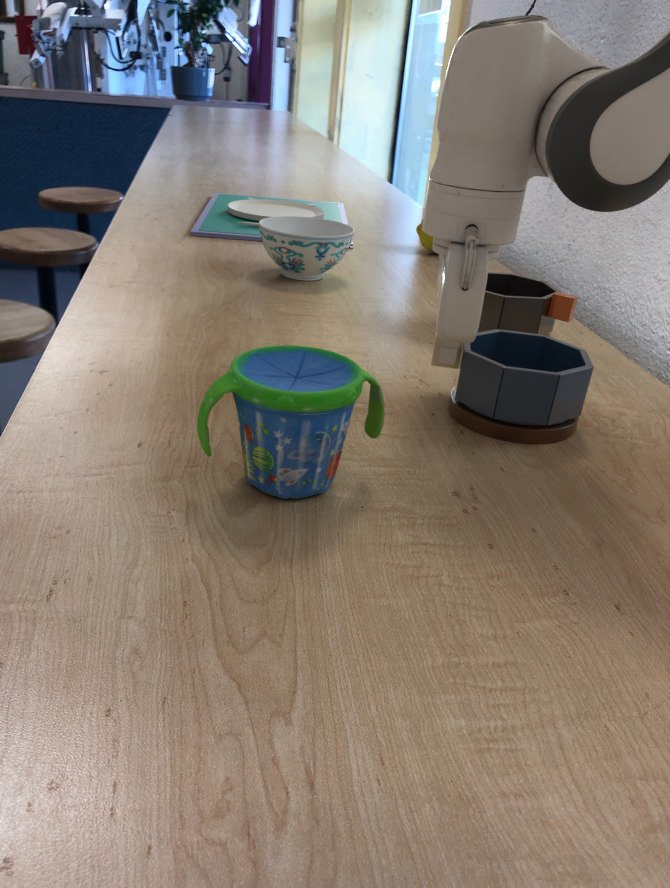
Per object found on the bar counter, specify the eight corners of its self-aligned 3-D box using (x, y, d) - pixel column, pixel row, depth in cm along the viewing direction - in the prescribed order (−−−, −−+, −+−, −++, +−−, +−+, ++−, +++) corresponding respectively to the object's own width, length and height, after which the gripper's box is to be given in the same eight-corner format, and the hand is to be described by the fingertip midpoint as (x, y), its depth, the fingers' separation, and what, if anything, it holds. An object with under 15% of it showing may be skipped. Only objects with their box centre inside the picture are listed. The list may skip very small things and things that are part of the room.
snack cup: (206, 519, 60) (209, 395, 55) (187, 456, 69) (188, 345, 64) (396, 506, 64) (415, 389, 59) (356, 448, 73) (369, 342, 68)
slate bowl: (567, 388, 86) (581, 335, 83) (584, 435, 76) (601, 376, 73) (427, 370, 88) (436, 317, 85) (425, 413, 77) (434, 355, 74)
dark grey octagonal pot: (435, 323, 104) (443, 277, 101) (480, 307, 112) (488, 264, 109) (543, 355, 96) (555, 306, 93) (583, 334, 104) (595, 289, 101)
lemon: (414, 255, 146) (421, 210, 142) (410, 246, 153) (416, 202, 149) (472, 260, 146) (481, 215, 142) (465, 250, 153) (473, 207, 149)
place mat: (214, 196, 185) (214, 186, 184) (342, 206, 186) (343, 196, 185) (190, 235, 146) (190, 223, 145) (352, 248, 147) (354, 235, 146)
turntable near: (567, 401, 87) (570, 388, 87) (584, 452, 76) (588, 438, 75) (447, 385, 89) (450, 372, 88) (447, 433, 77) (450, 419, 77)
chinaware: (368, 282, 126) (374, 232, 123) (295, 292, 118) (299, 239, 114) (308, 260, 136) (312, 214, 132) (238, 268, 128) (239, 219, 124)
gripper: (513, 242, 64) (481, 399, 71) (499, 203, 82) (474, 332, 89) (435, 234, 65) (411, 390, 72) (438, 197, 83) (418, 325, 90)
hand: (446, 357), depth 81 cm, fingers closed on slate bowl
